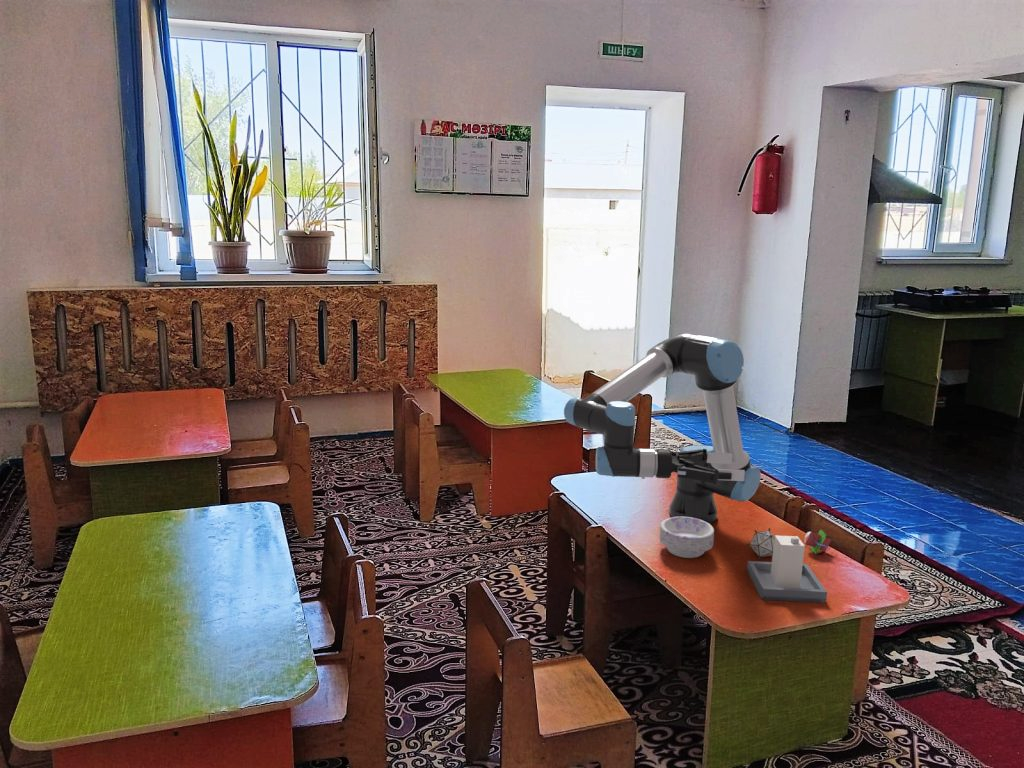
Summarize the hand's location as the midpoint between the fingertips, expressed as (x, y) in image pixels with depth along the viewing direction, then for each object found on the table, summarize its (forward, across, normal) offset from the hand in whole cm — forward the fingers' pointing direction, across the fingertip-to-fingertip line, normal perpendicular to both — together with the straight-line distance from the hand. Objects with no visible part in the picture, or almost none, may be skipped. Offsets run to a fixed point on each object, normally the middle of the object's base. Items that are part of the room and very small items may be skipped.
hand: (737, 466), depth 199 cm
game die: (+14, -16, -32) cm, 38 cm away
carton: (+15, +2, -31) cm, 34 cm away
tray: (+15, +2, -32) cm, 35 cm away
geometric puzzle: (+31, -21, -32) cm, 49 cm away
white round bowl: (-8, -17, -32) cm, 37 cm away
